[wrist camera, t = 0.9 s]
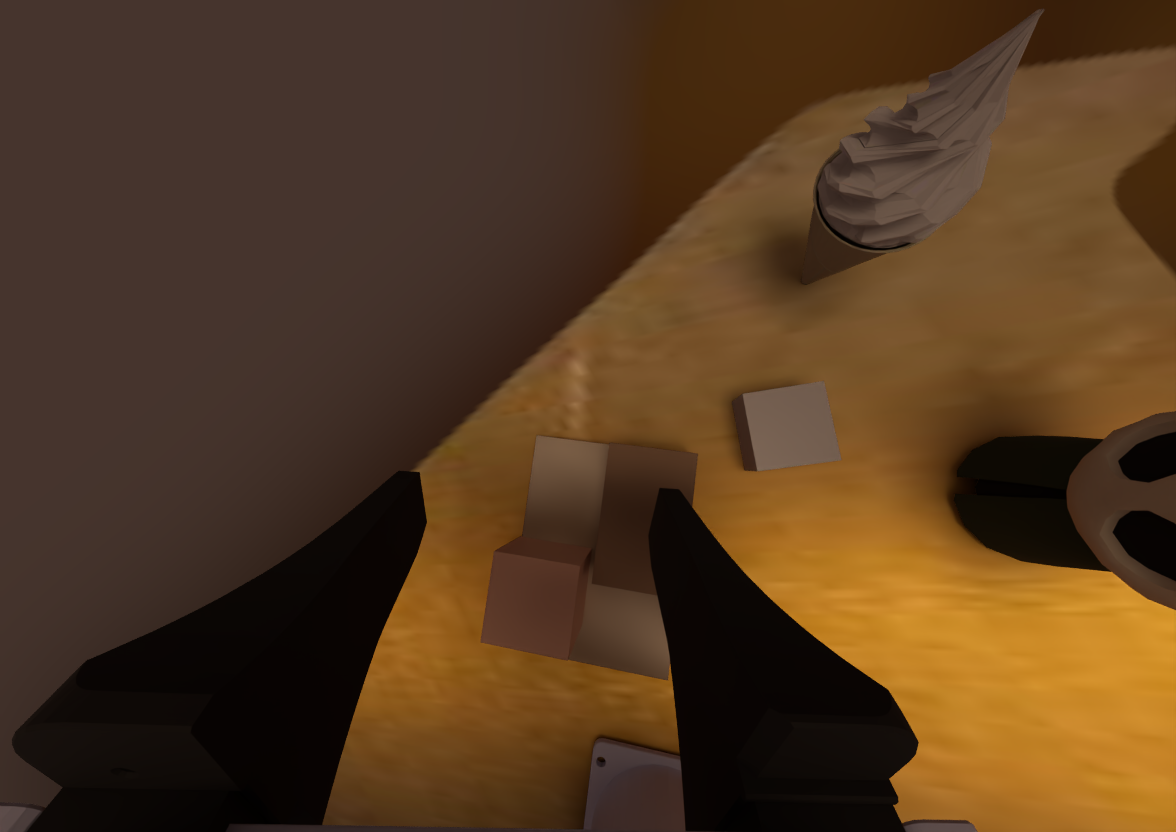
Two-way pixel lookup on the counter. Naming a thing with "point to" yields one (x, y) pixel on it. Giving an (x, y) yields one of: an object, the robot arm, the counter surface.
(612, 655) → the birch board
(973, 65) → the ice cream cone
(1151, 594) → the character mug
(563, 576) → the terracotta cube
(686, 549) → the robot arm
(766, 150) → the counter surface
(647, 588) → the walnut bar
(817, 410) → the grey block
